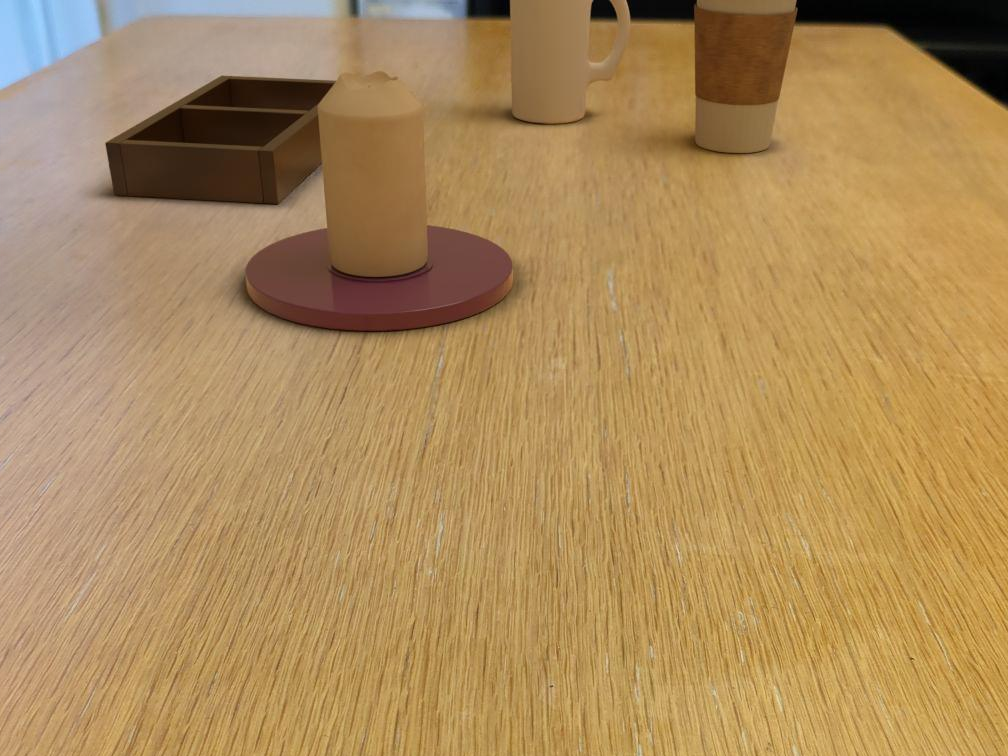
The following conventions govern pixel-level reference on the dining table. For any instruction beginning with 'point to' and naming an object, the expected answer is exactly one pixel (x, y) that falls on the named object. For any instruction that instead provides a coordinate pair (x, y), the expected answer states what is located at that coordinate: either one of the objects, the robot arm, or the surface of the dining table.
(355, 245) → the candle
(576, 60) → the mug
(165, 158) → the divided wooden tray
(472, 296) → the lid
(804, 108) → the dining table surface
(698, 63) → the coffee cup
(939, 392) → the dining table surface
